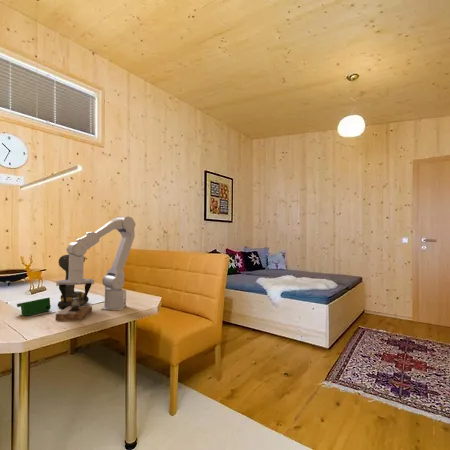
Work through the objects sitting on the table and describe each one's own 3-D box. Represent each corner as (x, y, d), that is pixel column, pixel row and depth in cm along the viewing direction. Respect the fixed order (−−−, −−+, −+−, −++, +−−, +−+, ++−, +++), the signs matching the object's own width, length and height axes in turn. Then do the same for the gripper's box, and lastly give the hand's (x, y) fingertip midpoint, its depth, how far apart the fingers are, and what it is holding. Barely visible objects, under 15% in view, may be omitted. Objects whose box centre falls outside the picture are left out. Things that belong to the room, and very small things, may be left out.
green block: (39, 319, 133) (45, 299, 137) (47, 318, 130) (53, 298, 135) (11, 315, 124) (18, 294, 128) (19, 314, 121) (26, 292, 125)
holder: (91, 311, 133) (92, 306, 133) (80, 320, 121) (81, 314, 121) (68, 311, 132) (69, 306, 132) (55, 320, 120) (55, 314, 120)
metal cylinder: (77, 316, 125) (78, 299, 126) (70, 316, 125) (70, 299, 125) (78, 314, 128) (79, 297, 128) (71, 315, 127) (72, 297, 127)
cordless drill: (96, 299, 154) (97, 252, 154) (72, 310, 134) (74, 255, 134) (80, 298, 155) (81, 251, 155) (54, 309, 135) (56, 254, 135)
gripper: (94, 268, 133) (94, 298, 133) (58, 269, 127) (57, 300, 127) (94, 270, 126) (93, 302, 126) (55, 271, 121) (54, 304, 121)
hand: (75, 301), depth 126 cm, fingers open, 7 cm apart
